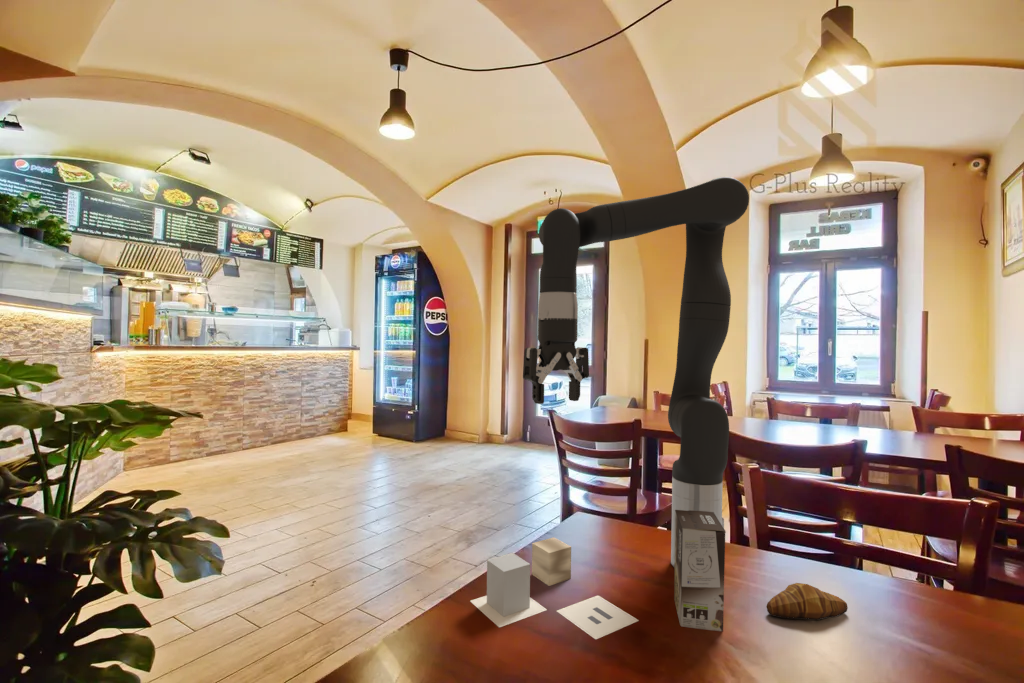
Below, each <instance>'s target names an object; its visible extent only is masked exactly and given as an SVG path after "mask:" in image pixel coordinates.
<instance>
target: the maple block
mask: <svg viewBox="0 0 1024 683" xmlns="http://www.w3.org/2000/svg"><path fill="white" fill-rule="evenodd" d="M531 544H532V545H531V549H532V550H531V551H532V552H531V575H532V576H533V577H535V578H537V579H538V580H539V581H540V582H542V583H543V584H545V585H547V586H548V587H550V586H553V585H556V584H559V583H562V582H565V581H568V580H571V579H572V546H571V545H569V544H567V543H565V542H563V541H562V540H560V539H558V538H556V537H554V536H553V537H550V538H547V539H546V538H545V539H543V540H538V541H536V542H532V543H531Z"/></svg>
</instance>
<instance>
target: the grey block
mask: <svg viewBox="0 0 1024 683" xmlns="http://www.w3.org/2000/svg"><path fill="white" fill-rule="evenodd" d="M486 595H487V603H488V604H489V605H490V606H491V607H492V608H493V609H495V610H496V611H497V612H498V613H499V614H500V615H502V616H503V617H505V616H508V615H511V614H513V613H516V612H519V611H522V610H525V609H527V608H530V596H531V563H530V562H528V561H526V560H525V559H523V558H522V557H520V556H519V555H517V554H516V553H514V552H511V553H507V554H504V555H499V556H495V557H493V558H488V559H487V560H486Z"/></svg>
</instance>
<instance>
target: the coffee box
mask: <svg viewBox="0 0 1024 683" xmlns="http://www.w3.org/2000/svg"><path fill="white" fill-rule="evenodd" d="M726 533H727V531H726V529H725V527H724V528H723V526H722V525H721V523H720V522H719V520H718V518H717V517H716V515H715V514H714V512H708V511H690V510H689V511H684V510H675V558H674V567H673V568H674V569H673V570H674V571H673V572H674V574H673V576H674V578H673V579H674V581H673V583H674V584H673V586H674V587H673V589H674V591H673V592H674V594H673V599H674V604H675V608H676V613H677V617H678V621H679V625H680V627H684V628H690V629H697V630H707V631H716V632H723V631H724V615H725V613H724V609H725V608H724V606H725V601H724V600H725V569H726V568H725V564H726V563H725V562H726V558H725V557H726Z"/></svg>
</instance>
